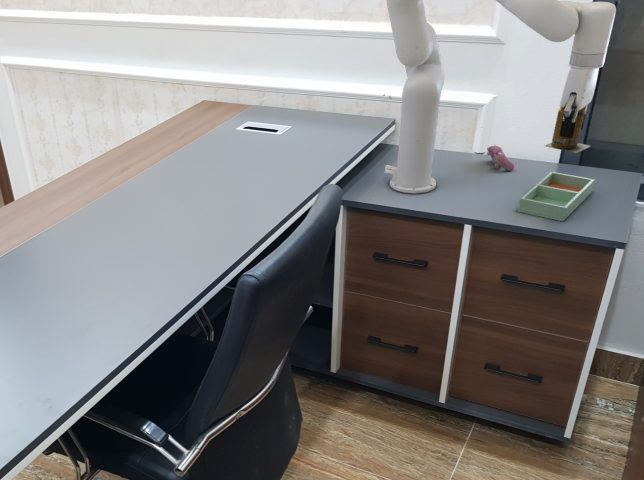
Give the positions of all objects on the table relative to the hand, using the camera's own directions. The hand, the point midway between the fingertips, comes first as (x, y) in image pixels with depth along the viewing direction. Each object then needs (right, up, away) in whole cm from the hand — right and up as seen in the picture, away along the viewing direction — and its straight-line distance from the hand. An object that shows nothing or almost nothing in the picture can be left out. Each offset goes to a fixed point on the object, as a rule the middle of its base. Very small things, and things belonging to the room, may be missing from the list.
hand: (570, 132), depth 182 cm
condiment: (0, -3, +2) cm, 4 cm away
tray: (-1, -16, +6) cm, 18 cm away
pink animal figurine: (-6, -2, +29) cm, 30 cm away
